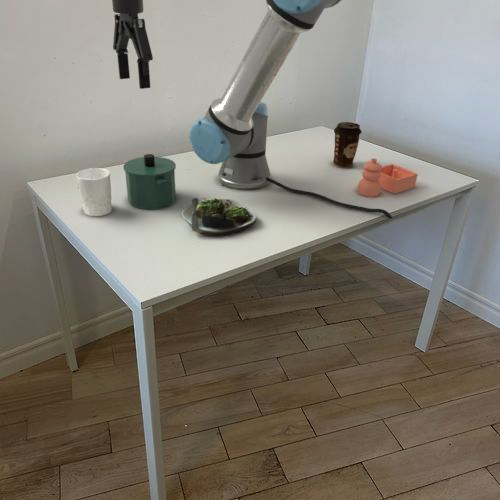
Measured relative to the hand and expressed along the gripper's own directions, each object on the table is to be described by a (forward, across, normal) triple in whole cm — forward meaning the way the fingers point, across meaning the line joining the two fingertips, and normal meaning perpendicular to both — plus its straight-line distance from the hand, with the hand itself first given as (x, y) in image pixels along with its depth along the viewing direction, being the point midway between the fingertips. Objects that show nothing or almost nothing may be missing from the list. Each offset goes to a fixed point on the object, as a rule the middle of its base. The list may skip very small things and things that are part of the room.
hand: (134, 83), depth 136 cm
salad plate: (+27, +38, +4) cm, 46 cm away
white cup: (+26, +17, -20) cm, 37 cm away
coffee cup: (+27, +24, +59) cm, 69 cm away
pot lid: (+17, +18, -5) cm, 25 cm away
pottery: (+27, +44, +55) cm, 76 cm away
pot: (+26, +18, -5) cm, 32 cm away
